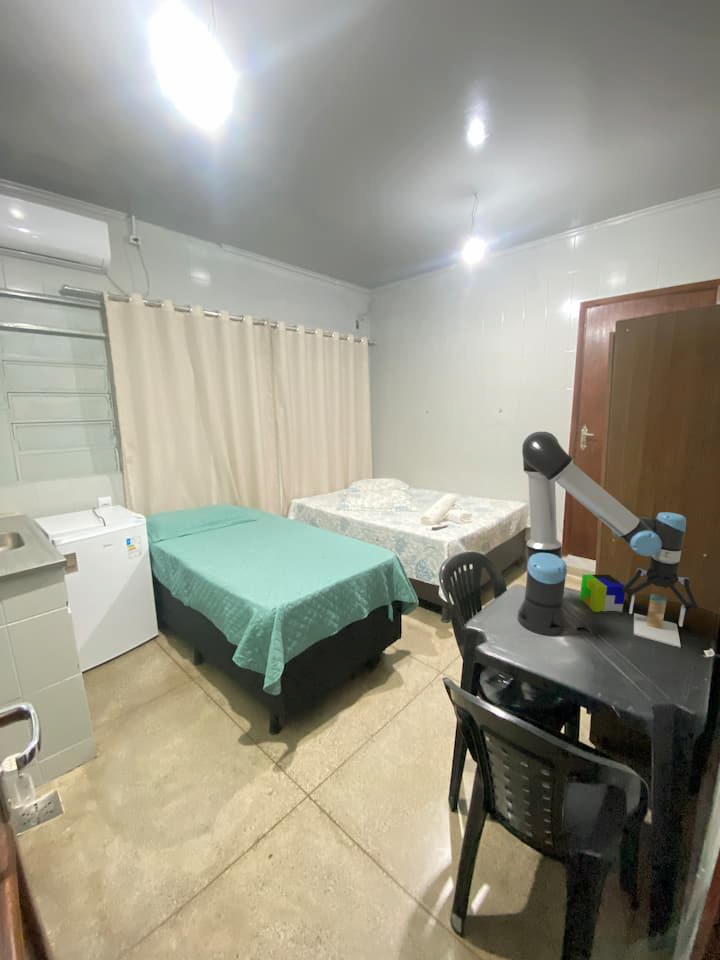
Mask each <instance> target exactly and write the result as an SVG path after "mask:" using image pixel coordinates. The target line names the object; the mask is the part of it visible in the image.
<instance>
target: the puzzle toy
mask: <svg viewBox="0 0 720 960" xmlns="http://www.w3.org/2000/svg"><path fill="white" fill-rule="evenodd" d="M624 585H625V584H623V583H621V582H619V580H617V579H616V578H614V577H613V576H612V575H610V574H585V573H584V574H582V577H581V587H580V594H579V599H580V600H581V601H582V602H583V603H584V604H585V605H587V606H588V607H589V609H591V611H592V612H594V613H601V612H600V611H620V612H619V613H622V612H623V607H624V601H625V595H626V592H623V591H622V588H623V586H624Z"/></svg>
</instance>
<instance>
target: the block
mask: <svg viewBox="0 0 720 960" xmlns="http://www.w3.org/2000/svg"><path fill="white" fill-rule="evenodd" d="M666 607H667V597H666V596H665V595H664V596H663V595H660V594H656V593H650V598H649V603H648V610H647V615H646V616H647V626H651V627H655V628H659V629H662V623H663V621H664V616H665V612H666Z"/></svg>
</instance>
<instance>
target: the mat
mask: <svg viewBox="0 0 720 960" xmlns="http://www.w3.org/2000/svg"><path fill="white" fill-rule="evenodd" d="M633 635H634V636H638V637H640V638H644V639H648V640H652V641H655V642H659V643H663V644H666V645H669V646H673V647H676V646H677V647H676V648H681V647H682V646H681V641H680V635H679V629H678V624H677V623H674V622H672V621H667V620H663V623H662V629H659V628H655V627H651V626H647V615H644V614H639V613H635V612H634V613H633Z"/></svg>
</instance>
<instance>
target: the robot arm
mask: <svg viewBox="0 0 720 960" xmlns="http://www.w3.org/2000/svg"><path fill="white" fill-rule="evenodd" d="M521 446H522V447H521V448H522V451H521V453H522V464H523V472H524V473H525V474H526V475H527V476H528V494H529V495H528V497H529V503H528V504H529V523H530V526H529V527H530V528H529V529H530V539H529V540H528V541H527V542H526V561H527V562H526V563H527V565H526V566H527V567H526V580H525V581H526V582H525V594H524V599H523V601H522V603H521V605H520V607H519V609H518V611H517V621H518V622H519V624H520V625H521V626H522V627H524V628H525V629H526V630H529V631H530V632H534V633H537V634H540V635H544V636H545V635H546V636H557V635H561V634H563V633H564V632H565V631H566V628H567V627H566V626H567V620H566V615H565V613H564V609H563V600H564V593H565V585H566V577H567V574H568V570H567V563H566V562H565V559H563V550H562V549H563V547H562V545H563V544H562V542H560V541H559V540H558V539H557V538H558V536H557V533H558V532H557V499H556V483H557V484H558V485H559V486H560V487H562V489H564V490H565V491H566V492H567V493H568V494H569V495H571V496H572V497H573V498H574V499H576V501H578V502H579V503H580V504H581V505H582V506H584V507H585V508H586V510H588V511H590V512H591V513H592V515H594V516H595V517H596V518H598V519H599V520H600V521H601V522H602V523H603V524H604V525H606V526H607V527H608V528H610V529H611V532H612V533H611V534H612V535H613V536H614V537H616V538H620V539H622V540H623V541H624V542H625V543H626V544H627V545H629V546H630V548H631V550H632V551H634V552H635V553H636V554H638V555H640V556H643V557H650V560H649V566H648V569H647V570H645V569H642V567H639V566H638V567H637V568H636V572H635V573H634V574H633V575H632V576H631V577H630V578H629V580H628V581H626V583H624V584H623V585H624V586H623V588H622V591H623V592H625V594H627V597H626V603H627V604H629V611H628V612H629V614H631V615H632V614H633V609H634V604H635V598H636V597H635V596H636V595H635V594H637V593H638V592H640V591H641V590H643V589H645V588H646V587H648V586H651V585H654V586H655V587H661V588H664V589H667V588H669V589H670V590H671V591H672V592H673V593H674V595H675V596H676V597H677V599H679V601H680V602H681V603H682V604H681V606H680V613H679V618H678V626H679V627H681V628H682V627H683V625H684V619H685V618H689V616H690V612H691V611H690V610H691V609H698V608H699V606H698V603H697V601H696V600H697V599H695V595H694V594H693V591H692V589H691V587H690V579H689V577H688V576H683V577H682V576H678V573H679V567H680V563H679V562H681V555H682V548H683V543H684V539H685V535H686V531H687V530H686V528H687V518H686V517H685V515H682V514H679V513H674V512H669V511H666V512H662V511H661V512H659V513H658V514H657V515H656V517H643V516H636V515H635V514H633V513H632V512H631V511H630V509H628V508H626V507H625V506H624V504H621V502H620V501H618V499H616V498H615V497H614V496H613V495H611V494H610V493H609V492H608V491H606V490H605V489H604V488H603V486H602V487H601V485H599V484H598V483H597V482H596V481H595V480H593V479H592V478H591V477H590V476H588V474H586V473H585V472H584V471H583V470H581V468H579V467H578V466H577V465H576V464H575V463H574V458H573V457H572V456H571V455H569V454H568V453H567V452H566V451H565V450H564V448H563V447H562V446H561V445H560V443H559V441H558V439H557V437H556V436H555V435H553V433H550V432H548V431H535V432H533V433H531V434H529V435H528V436H527V437H525V439H524V441H523V443H522V445H521ZM644 575H646V576H647V578H645V579H644V580H642V581H641V582H639V583H638V584H636V585H635V586H633V585H634V584H635V583H636V582H637V581H638V580H639V579H640V577H643V576H644ZM677 582H679V583H680V584H681V585H683V587H684V589H685V591H686V593H687V596H688V598H689V601H690V602H689V601H688V600H687V599H686V597H685V595H684V594H683V593H682V592H681V591H680V589H679V588H678V587H677V585H676V583H677ZM632 586H633V587H632Z"/></svg>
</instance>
